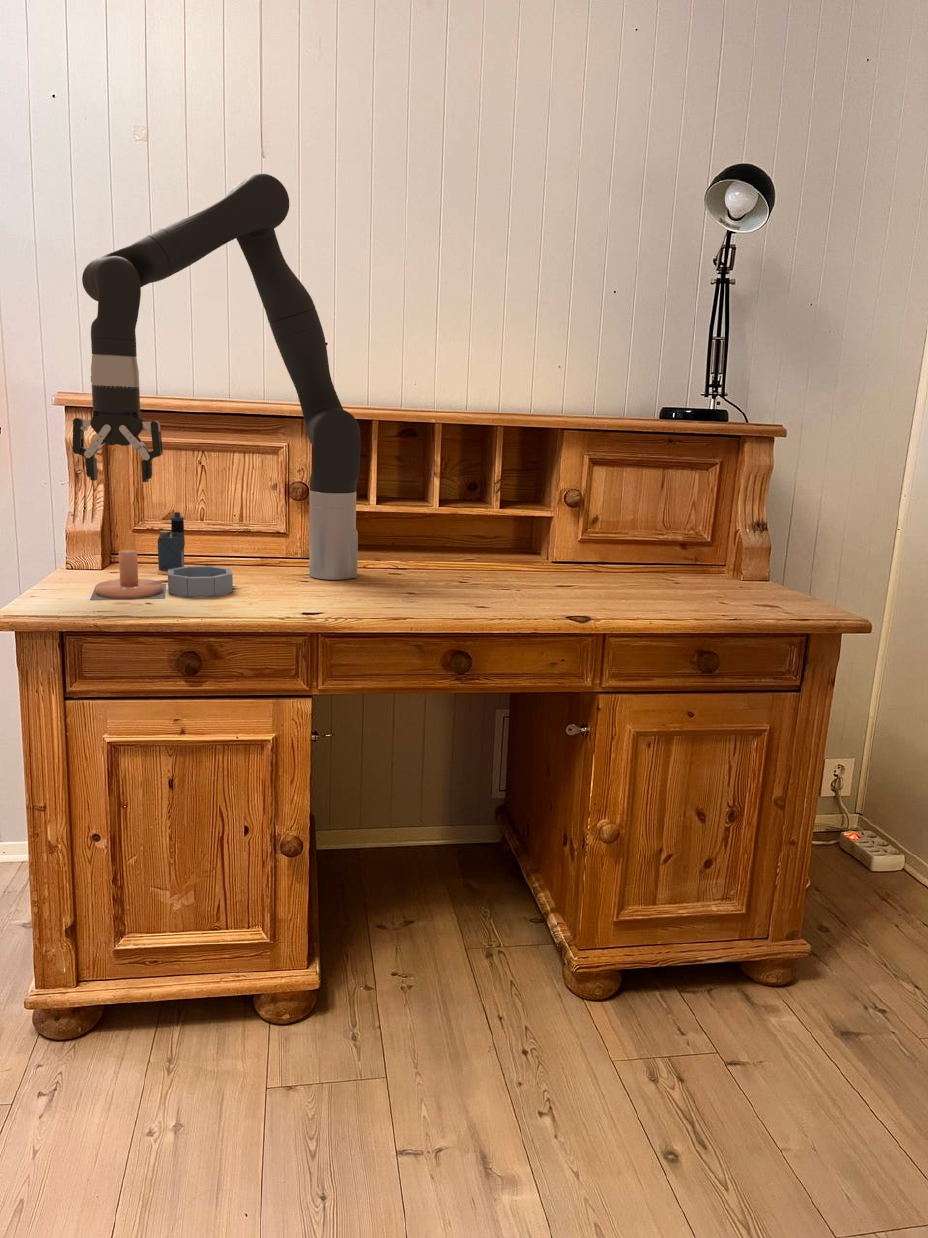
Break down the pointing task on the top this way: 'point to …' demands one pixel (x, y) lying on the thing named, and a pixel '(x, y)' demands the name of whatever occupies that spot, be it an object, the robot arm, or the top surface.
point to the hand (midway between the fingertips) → (119, 480)
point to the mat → (159, 596)
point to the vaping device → (172, 545)
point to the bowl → (200, 581)
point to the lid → (128, 581)
